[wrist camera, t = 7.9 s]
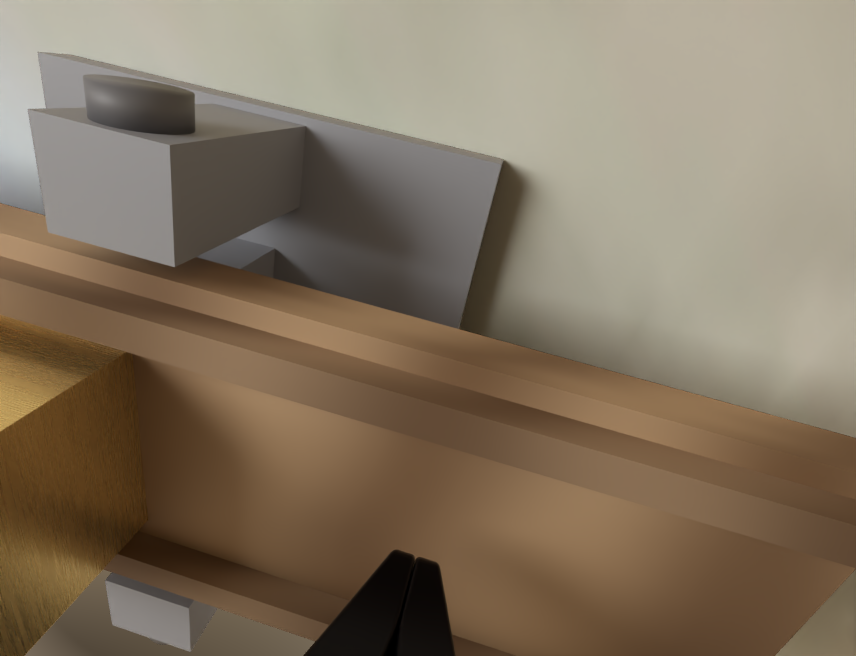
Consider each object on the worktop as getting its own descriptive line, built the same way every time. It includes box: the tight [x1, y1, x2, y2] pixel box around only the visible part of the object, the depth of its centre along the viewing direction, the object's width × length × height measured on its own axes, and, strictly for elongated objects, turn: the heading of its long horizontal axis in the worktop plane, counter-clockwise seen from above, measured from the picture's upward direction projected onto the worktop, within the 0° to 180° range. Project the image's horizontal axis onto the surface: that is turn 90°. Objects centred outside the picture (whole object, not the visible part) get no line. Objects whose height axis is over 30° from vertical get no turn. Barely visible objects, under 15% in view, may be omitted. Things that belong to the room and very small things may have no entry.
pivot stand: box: [28, 52, 504, 652], centre depth 13 cm, size 12×15×6 cm
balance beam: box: [0, 203, 856, 656], centre depth 11 cm, size 28×9×2 cm, turn 78°
